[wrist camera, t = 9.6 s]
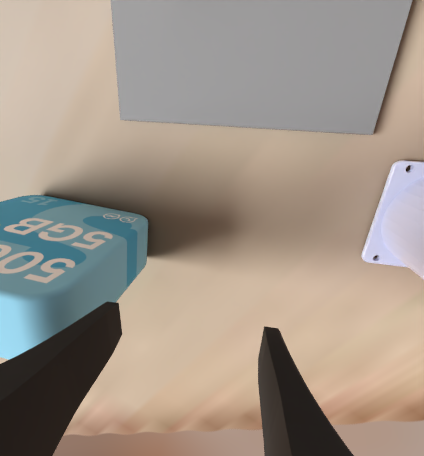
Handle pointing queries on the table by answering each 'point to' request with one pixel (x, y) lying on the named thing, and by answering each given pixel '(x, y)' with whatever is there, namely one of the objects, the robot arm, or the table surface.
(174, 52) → the desk mat
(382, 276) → the table surface
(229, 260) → the table surface
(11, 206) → the data package
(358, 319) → the table surface
